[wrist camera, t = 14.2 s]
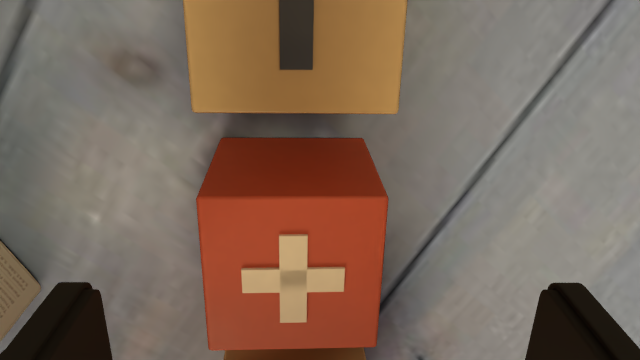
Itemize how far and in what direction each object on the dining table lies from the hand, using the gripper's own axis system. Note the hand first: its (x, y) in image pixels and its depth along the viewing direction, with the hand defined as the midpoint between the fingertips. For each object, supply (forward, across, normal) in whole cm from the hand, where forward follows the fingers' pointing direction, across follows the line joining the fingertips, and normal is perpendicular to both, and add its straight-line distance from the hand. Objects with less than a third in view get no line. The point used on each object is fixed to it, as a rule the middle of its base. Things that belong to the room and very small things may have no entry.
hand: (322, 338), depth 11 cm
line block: (+7, +1, -7) cm, 10 cm away
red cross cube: (+7, +1, 0) cm, 7 cm away
